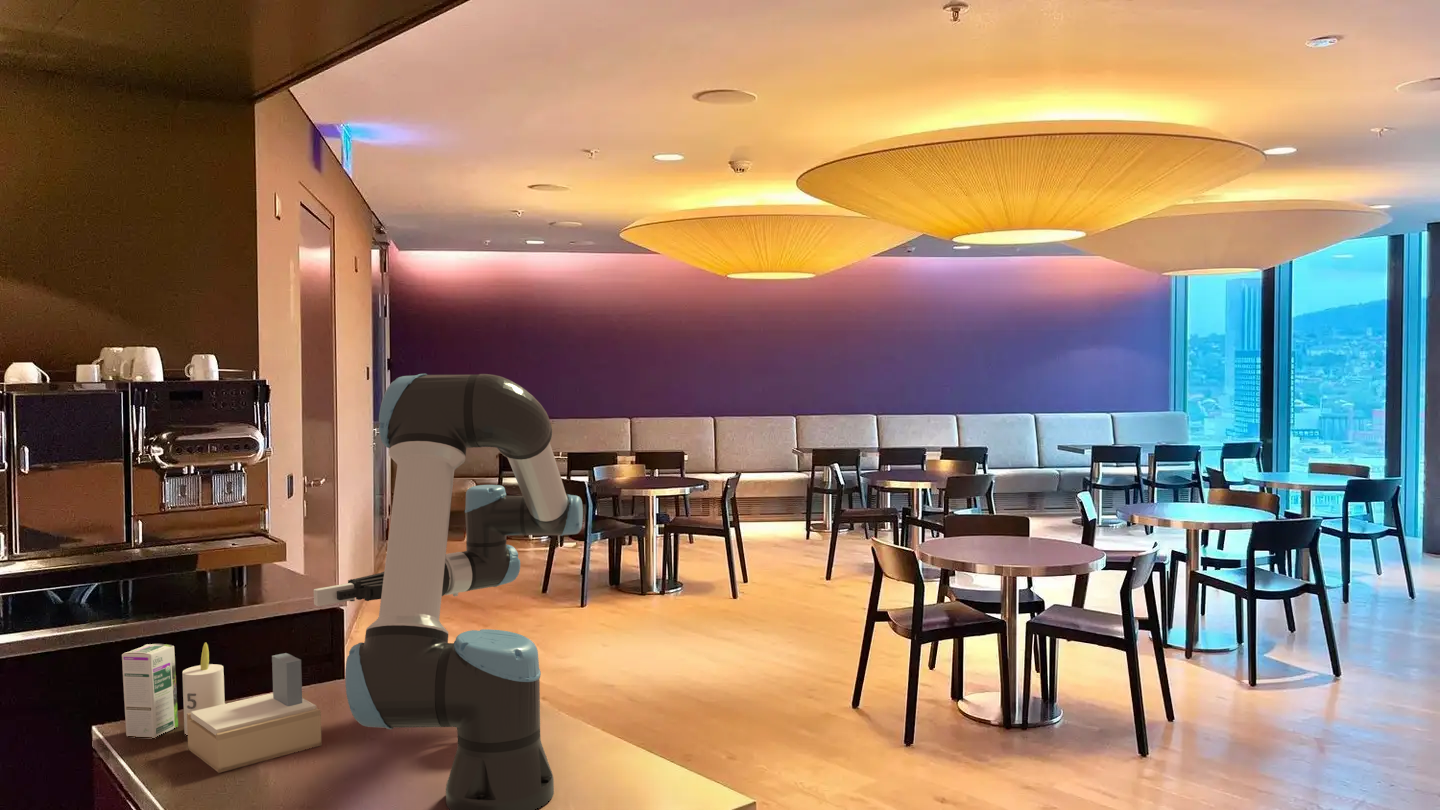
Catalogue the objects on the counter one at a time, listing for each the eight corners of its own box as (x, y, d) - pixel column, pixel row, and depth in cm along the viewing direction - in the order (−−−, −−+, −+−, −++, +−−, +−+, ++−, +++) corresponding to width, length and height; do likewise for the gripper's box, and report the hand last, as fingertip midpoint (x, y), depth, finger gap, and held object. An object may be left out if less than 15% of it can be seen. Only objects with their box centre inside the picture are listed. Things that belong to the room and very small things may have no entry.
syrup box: (154, 739, 176) (151, 653, 175) (124, 737, 177) (121, 651, 177) (179, 727, 182) (176, 644, 181) (149, 725, 183) (146, 642, 182)
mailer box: (286, 724, 182) (285, 690, 182) (321, 745, 172) (320, 709, 172) (188, 749, 171) (186, 713, 171) (219, 773, 161) (217, 734, 161)
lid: (287, 695, 181) (285, 648, 181) (316, 711, 173) (315, 662, 172) (190, 717, 170) (188, 667, 170) (216, 736, 162) (214, 683, 162)
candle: (175, 736, 177) (172, 648, 177) (200, 723, 184) (197, 637, 183) (209, 738, 176) (206, 649, 176) (233, 724, 183) (230, 639, 182)
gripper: (459, 601, 190) (333, 626, 174) (424, 590, 200) (300, 613, 183) (458, 560, 190) (331, 581, 174) (423, 551, 199) (299, 570, 183)
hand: (315, 597), depth 179 cm, fingers closed
